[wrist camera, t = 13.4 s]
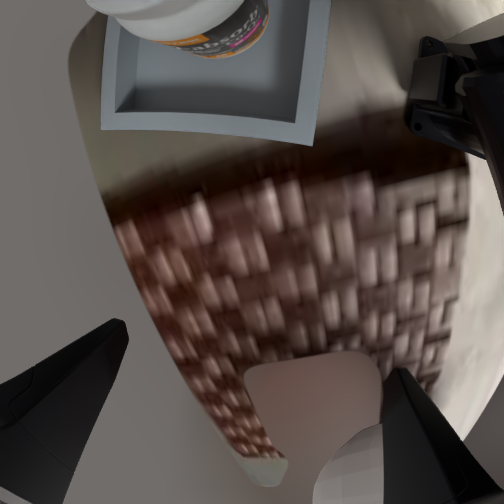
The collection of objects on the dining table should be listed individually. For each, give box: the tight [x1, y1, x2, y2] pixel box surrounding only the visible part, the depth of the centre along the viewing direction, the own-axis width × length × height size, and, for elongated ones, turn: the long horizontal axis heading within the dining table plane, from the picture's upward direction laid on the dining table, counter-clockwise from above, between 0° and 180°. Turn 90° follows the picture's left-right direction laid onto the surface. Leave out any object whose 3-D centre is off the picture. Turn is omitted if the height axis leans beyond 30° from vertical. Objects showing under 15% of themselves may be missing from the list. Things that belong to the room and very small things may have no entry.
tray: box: [101, 0, 331, 146], centre depth 12 cm, size 12×14×3 cm
